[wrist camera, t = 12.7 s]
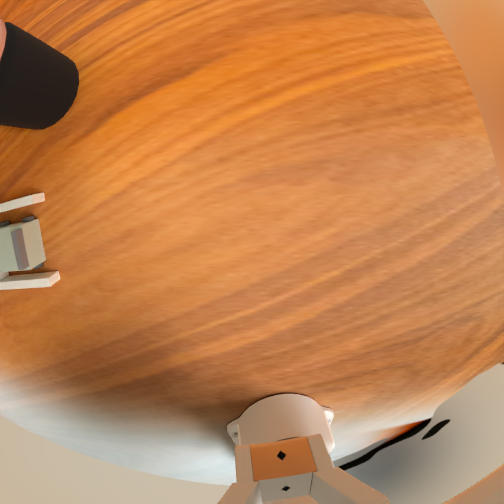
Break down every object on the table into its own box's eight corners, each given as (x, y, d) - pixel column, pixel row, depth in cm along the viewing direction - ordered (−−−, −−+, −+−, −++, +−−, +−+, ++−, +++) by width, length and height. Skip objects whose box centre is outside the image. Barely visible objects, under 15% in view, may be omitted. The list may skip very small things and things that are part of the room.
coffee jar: (27, 69, 27) (-52, 40, 9) (86, 50, 28) (14, -4, 10) (21, 137, 30) (-70, 134, 12) (80, 122, 30) (-11, 100, 13)
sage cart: (47, 263, 35) (25, 277, 29) (12, 267, 34) (-10, 280, 29) (38, 214, 33) (14, 222, 27) (3, 221, 32) (-21, 230, 27)
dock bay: (60, 278, 36) (50, 286, 33) (6, 283, 35) (-4, 290, 32) (44, 192, 32) (32, 194, 29) (-10, 207, 31) (-21, 210, 29)
